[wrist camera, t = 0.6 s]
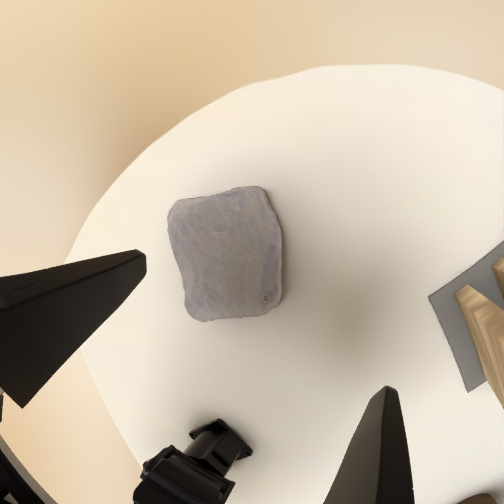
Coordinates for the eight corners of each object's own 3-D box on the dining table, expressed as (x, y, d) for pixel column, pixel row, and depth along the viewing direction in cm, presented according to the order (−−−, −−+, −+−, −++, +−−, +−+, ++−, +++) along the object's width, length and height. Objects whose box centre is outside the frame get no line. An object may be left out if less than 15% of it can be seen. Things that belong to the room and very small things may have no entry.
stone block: (272, 180, 28) (176, 204, 29) (267, 173, 23) (155, 203, 25) (297, 300, 29) (202, 316, 30) (297, 316, 24) (186, 332, 26)
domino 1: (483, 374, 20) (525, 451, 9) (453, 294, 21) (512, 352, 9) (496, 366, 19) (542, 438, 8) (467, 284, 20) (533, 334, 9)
